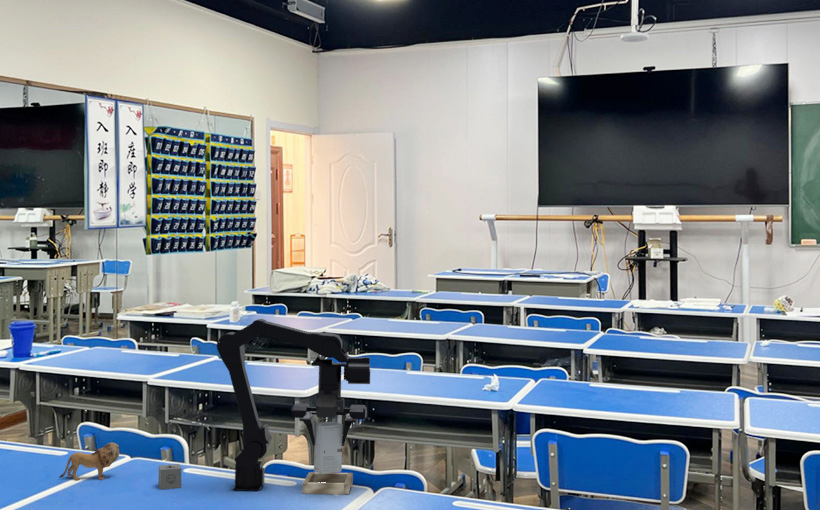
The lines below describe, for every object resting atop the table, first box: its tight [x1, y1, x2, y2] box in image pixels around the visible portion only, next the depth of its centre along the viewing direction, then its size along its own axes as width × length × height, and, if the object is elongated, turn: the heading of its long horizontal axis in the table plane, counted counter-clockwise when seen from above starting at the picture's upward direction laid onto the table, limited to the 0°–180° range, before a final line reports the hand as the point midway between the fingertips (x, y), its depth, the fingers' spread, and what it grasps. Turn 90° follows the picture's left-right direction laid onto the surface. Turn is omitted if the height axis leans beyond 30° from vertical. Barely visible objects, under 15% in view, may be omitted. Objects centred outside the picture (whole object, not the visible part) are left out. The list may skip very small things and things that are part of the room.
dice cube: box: [158, 463, 182, 491], centre depth 210 cm, size 5×5×5 cm
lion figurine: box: [58, 442, 120, 481], centre depth 217 cm, size 15×5×9 cm, turn 104°
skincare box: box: [313, 421, 344, 474], centre depth 210 cm, size 6×4×12 cm
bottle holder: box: [302, 471, 354, 495], centre depth 210 cm, size 11×11×2 cm
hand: (328, 445), depth 210 cm, fingers closed on skincare box, 7 cm apart
